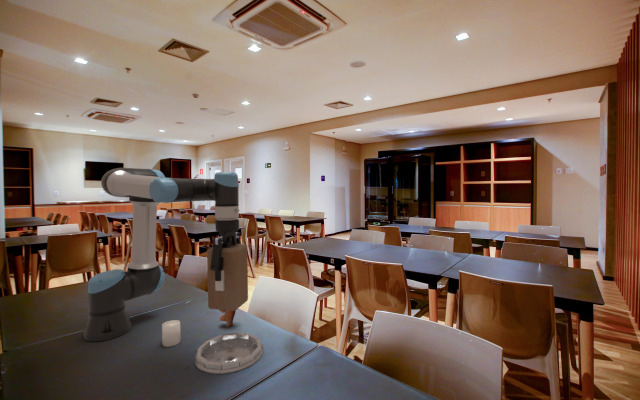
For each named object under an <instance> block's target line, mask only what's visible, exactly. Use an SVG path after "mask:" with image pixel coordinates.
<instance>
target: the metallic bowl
mask: <svg viewBox="0 0 640 400" xmlns="http://www.w3.org/2000/svg"><path fill="white" fill-rule="evenodd" d="M263 353H264V346H263V344H262V343H261V339H260V338H259V337H257V336H256V335H254V334H251V333H246V332H245V333H244V332H231V333H225V334H220V335H217V336H215V337H212V338H210V339H207V340H206V341H205V342H203V344H201V345H200V346H199V347H198V348H197V352H196V354H195V356H194V365H195V367H197V369H198V370H200V371H201V372H204V373H206V374H211V375H228V374H232V373H237V372H240V371H243V370H245V369H248V368H250V367H251V366H253V365H255V364H256V363H257V362H258V361H259V360H260V359H261V358H262V356H263Z"/></svg>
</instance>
